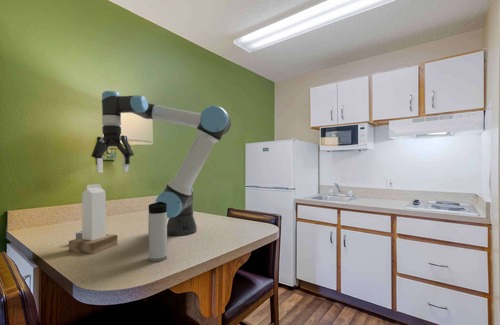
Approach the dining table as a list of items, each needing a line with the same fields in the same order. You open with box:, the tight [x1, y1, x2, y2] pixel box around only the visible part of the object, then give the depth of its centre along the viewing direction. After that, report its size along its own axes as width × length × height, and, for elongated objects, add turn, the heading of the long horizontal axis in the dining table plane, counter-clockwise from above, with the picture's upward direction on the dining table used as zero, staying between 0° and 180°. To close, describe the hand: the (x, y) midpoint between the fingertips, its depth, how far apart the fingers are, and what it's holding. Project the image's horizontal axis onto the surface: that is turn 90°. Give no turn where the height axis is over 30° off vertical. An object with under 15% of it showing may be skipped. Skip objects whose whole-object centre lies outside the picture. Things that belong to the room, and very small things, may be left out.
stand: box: [68, 233, 118, 255], centre depth 104 cm, size 12×12×4 cm
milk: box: [81, 183, 107, 241], centre depth 104 cm, size 6×6×22 cm
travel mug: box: [148, 202, 168, 263], centre depth 91 cm, size 6×7×20 cm
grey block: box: [75, 230, 82, 239], centre depth 110 cm, size 5×5×5 cm
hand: (112, 172), depth 116 cm, fingers open, 13 cm apart
